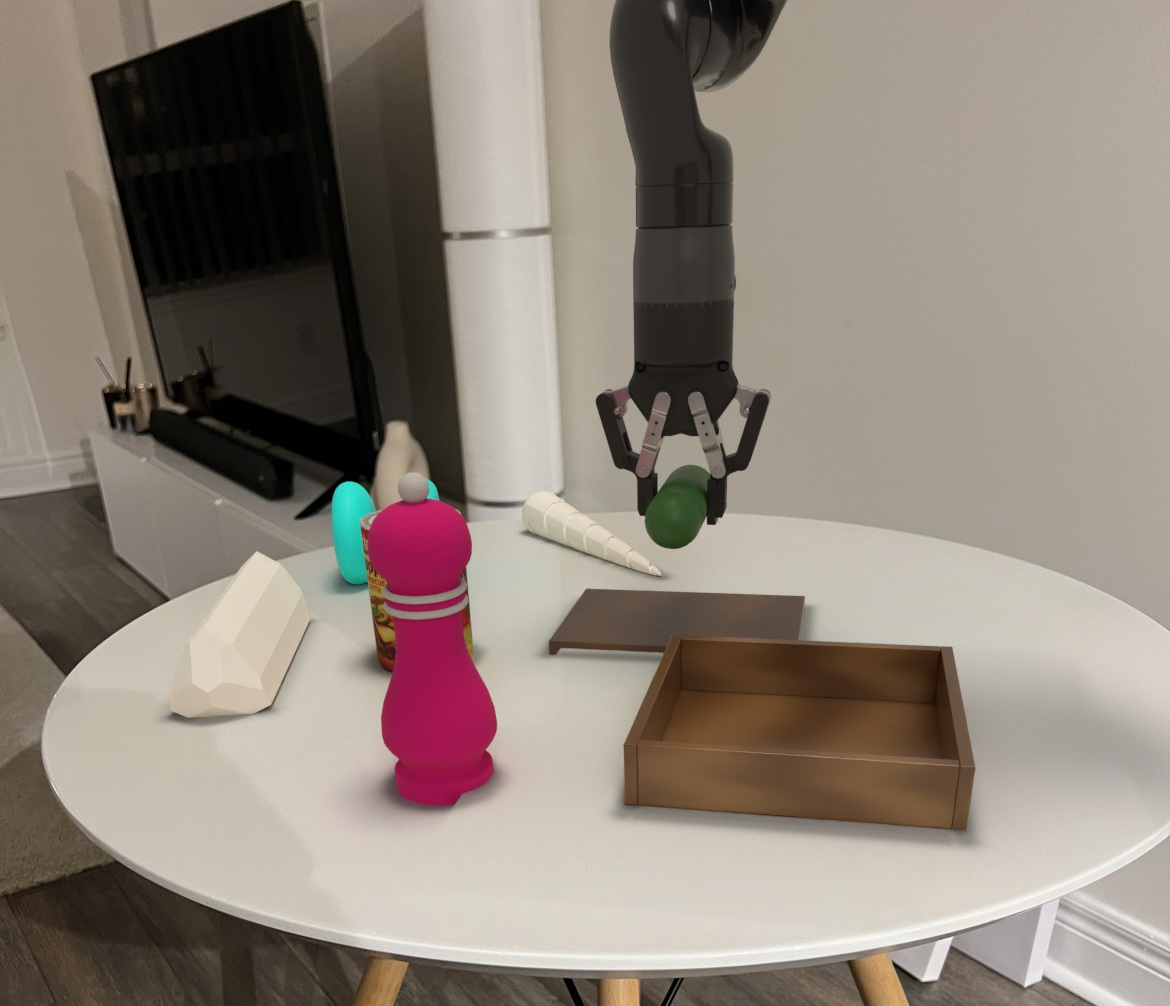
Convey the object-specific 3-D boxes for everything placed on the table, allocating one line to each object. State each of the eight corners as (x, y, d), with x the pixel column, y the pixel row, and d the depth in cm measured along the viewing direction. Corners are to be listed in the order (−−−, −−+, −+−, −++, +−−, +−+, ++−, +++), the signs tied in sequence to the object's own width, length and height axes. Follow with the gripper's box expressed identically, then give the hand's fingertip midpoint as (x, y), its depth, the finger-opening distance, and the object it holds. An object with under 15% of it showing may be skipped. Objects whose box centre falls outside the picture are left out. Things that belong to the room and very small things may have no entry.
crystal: (284, 674, 79) (329, 575, 100) (186, 631, 77) (253, 540, 98) (247, 757, 82) (299, 644, 103) (152, 718, 80) (224, 611, 101)
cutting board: (804, 611, 98) (805, 595, 98) (795, 670, 86) (796, 652, 86) (586, 603, 103) (585, 588, 102) (549, 658, 91) (548, 641, 90)
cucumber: (668, 510, 97) (668, 459, 95) (718, 511, 96) (719, 460, 94) (640, 555, 85) (639, 498, 83) (697, 556, 84) (697, 498, 82)
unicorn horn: (628, 587, 106) (627, 538, 104) (520, 535, 125) (517, 493, 123) (669, 578, 108) (669, 530, 106) (557, 529, 127) (555, 487, 125)
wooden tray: (944, 712, 78) (952, 646, 76) (964, 845, 62) (975, 766, 60) (671, 697, 82) (671, 634, 80) (624, 818, 66) (623, 744, 64)
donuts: (442, 592, 107) (432, 489, 103) (339, 598, 107) (324, 495, 102) (447, 563, 116) (437, 467, 111) (351, 568, 116) (338, 472, 111)
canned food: (358, 667, 90) (338, 522, 85) (424, 638, 96) (409, 500, 90) (428, 686, 86) (412, 535, 81) (493, 655, 92) (482, 511, 86)
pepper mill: (424, 755, 75) (388, 457, 66) (520, 769, 73) (497, 461, 63) (368, 804, 69) (321, 483, 60) (471, 821, 67) (438, 490, 58)
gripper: (579, 300, 80) (587, 532, 88) (776, 296, 77) (766, 536, 85) (600, 292, 87) (606, 509, 95) (783, 288, 84) (773, 512, 92)
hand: (682, 520), depth 90 cm, fingers closed on cucumber, 4 cm apart
